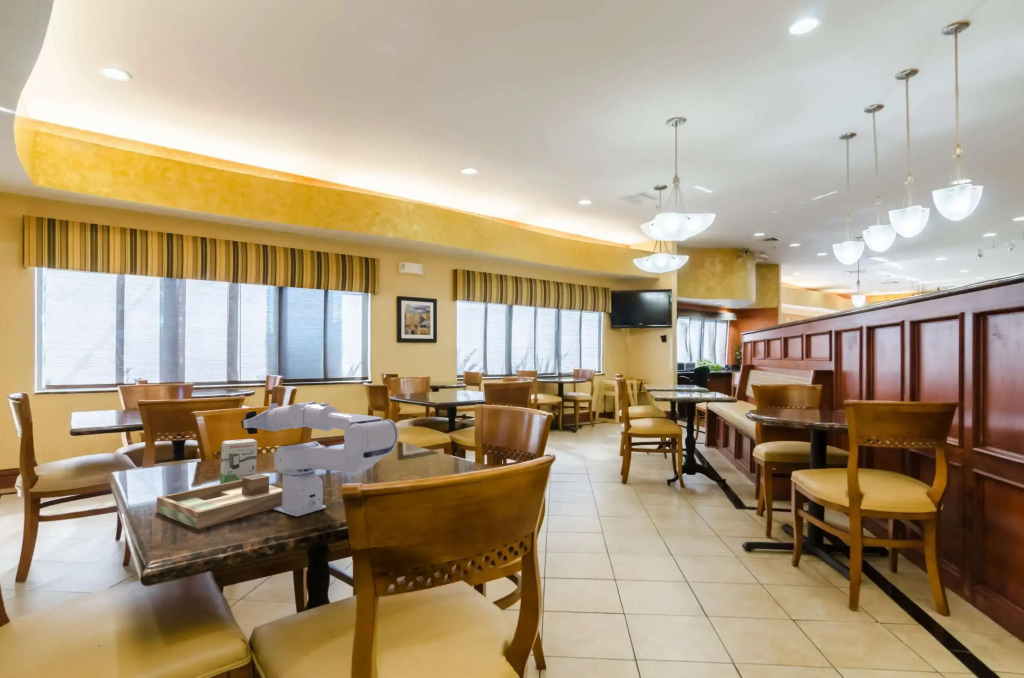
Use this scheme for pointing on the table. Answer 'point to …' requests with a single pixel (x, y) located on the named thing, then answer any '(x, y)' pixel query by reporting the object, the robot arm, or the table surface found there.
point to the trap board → (216, 504)
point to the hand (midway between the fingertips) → (257, 421)
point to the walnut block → (255, 484)
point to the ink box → (238, 459)
